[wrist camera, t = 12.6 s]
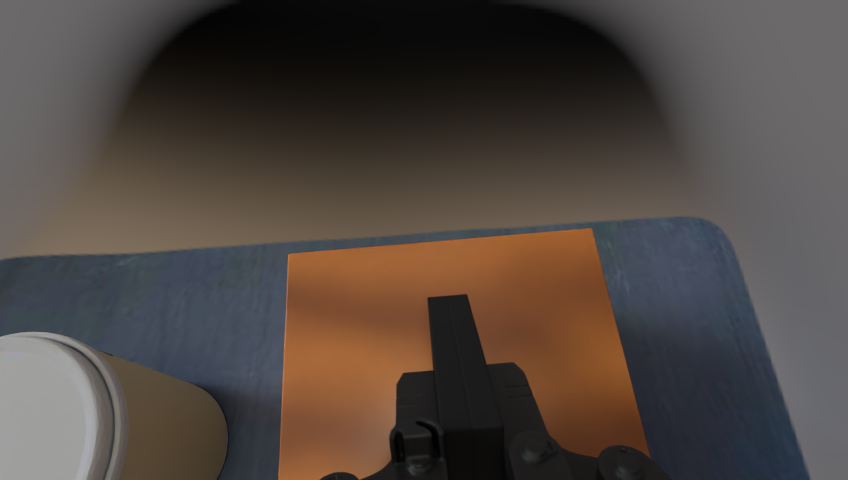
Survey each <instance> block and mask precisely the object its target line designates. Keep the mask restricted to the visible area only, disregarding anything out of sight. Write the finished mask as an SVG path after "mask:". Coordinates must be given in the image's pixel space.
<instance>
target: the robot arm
mask: <svg viewBox="0 0 848 480" xmlns="http://www.w3.org/2000/svg"><path fill="white" fill-rule="evenodd" d="M427 301H428V313H429V326H430V338H431V350H432V362H433V370H430V371H418V372H407V373H403V374H402V376H401V377H400V379H399V381H398V382H397V384H396V425H395V426H394V428H393V429H392V430H391V432H390V436H389V444H390V452H391V460H390V462H389V463H388V464H387V465H386V466H385V467H384V468H383V469H381V470H380V471H378V472H376V473H374V474H372V475H370V476H368V477H365V478H362V479H360V480H671V479H670V478H669V477H668V476H667V475H666V474H665V473H664V472H663V471H662V470H661V469H660V468H659V466H658V465H657V464H656V463H655V462H654V461H653V460H652V459H651V458H649V457H648V456H647V455H646V454H644V453H643V452H641V451H639V450H637V449H635V448H633V447H629V446H623V445H615V446H609V447H607V448H606V449H604V450H602V451H601V453H600V455H599V457H598V458H597V457H592V456H586V455H581V454H577V453H573V452H570V451H568V450H566V449H564V448H562V447H561V446H560V445H559V444H558V442H557V441H556V440H555V439H553V438H552V437H551V436H550V435H549V433H548V431H547V428H546V426H545V423H544V421H543V418H542V416H541V413H540V411H539V408H538V406H537V403H536V400H535V398H534V396H533V393H532V390H531V388H530V386H529V383H528V380H527V378H526V375H525V373H524V371H523V370H522V369H521V368H520V367H518V366H517V365H516V364H515V363H514V362H508V363H497V364H486V360H485V356H484V353H483V349H482V346H481V342H480V338H479V335H478V331H477V328H476V324H475V321H474V317H473V313H472V310H471V306H470V303H469V299H468V295H467V294H460V295H448V296H437V297H427ZM320 480H359V479H358V478H357V477H356V476H355V475H353V474H350V473H347V472H334V473H331V474H329V475H326V476H324V477H322V478H321V479H320Z"/></svg>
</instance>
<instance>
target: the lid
mask: <svg viewBox="0 0 848 480" xmlns="http://www.w3.org/2000/svg"><path fill="white" fill-rule="evenodd" d="M460 294H467V295H468V299H469V303H470V306H471V310H472V313H473V317H474V321H475V324H476V328H477V331H478V335H479V338H480V342H481V346H482V349H483V353H484V356H485V360H486V364H497V363H508V362H514V363H515V364H516V365H517V366H518V367H520V368H521V369H522V370H523V371H524V373H525V375H526V378H527V380H528V383H529V386H530V388H531V390H532V393H533V396H534V398H535V400H536V403H537V406H538V408H539V411H540V413H541V416H542V418H543V421H544V423H545V426H546V428H547V431H548V433H549V435H550V436H551V437H552V438H553V439H555V440H556V441H557V442H558V444H559V445H560V446H561V447H562V448H564V449H566V450H568V451H570V452H573V453H577V454H581V455H586V456H592V457H597V458H598V457H599V455H600V453H601V451H602V450H604V449H606V448H607V447H609V446H615V445H623V446H629V447H633V448H635V449H637V450H639V451H641V452H643V453H644V454H646V455H647V456H648V457H649V458H651V457H650V453H649V449H648V445H647V441H646V438H645V434H644V430H643V426H642V422H641V418H640V414H639V410H638V406H637V402H636V398H635V395H634V391H633V387H632V383H631V379H630V375H629V371H628V367H627V363H626V359H625V356H624V352H623V348H622V344H621V340H620V336H619V332H618V328H617V324H616V320H615V316H614V313H613V309H612V305H611V301H610V297H609V293H608V289H607V285H606V281H605V277H604V273H603V270H602V266H601V262H600V258H599V254H598V250H597V246H596V242H595V238H594V234H593V231H592V228H588V229H576V230H565V231H553V232H541V233H529V234H518V235H506V236H494V237H482V238H470V239H459V240H447V241H435V242H423V243H412V244H400V245H388V246H376V247H364V248H353V249H341V250H329V251H317V252H305V253H294V254H289V255H288V271H287V293H286V316H285V338H284V361H283V383H282V406H281V428H280V451H279V473H278V480H320V479H321V478H322V477H324V476H326V475H329V474H331V473H334V472H347V473H350V474H353V475H355V476H356V477H357V478H358V479H359V480H360V479H362V478H365V477H368V476H370V475H372V474H374V473H376V472H378V471H380V470H381V469H383V468H384V467H385V466H386V465H387V464H388V463H389V462H390V460H391V452H390V444H389V436H390V432H391V430H392V429H393V428H394V426H395V425H396V384H397V382H398V381H399V379H400V377H401V376H402V374H403V373H407V372H418V371H430V370H433V362H432V350H431V338H430V326H429V313H428V301H427V297H437V296H448V295H460Z"/></svg>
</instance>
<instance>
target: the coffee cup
mask: <svg viewBox="0 0 848 480" xmlns="http://www.w3.org/2000/svg"><path fill="white" fill-rule="evenodd" d="M227 445H228V431H227V425H226V420H225V417H224V414H223V412H222V410H221V408H220V407H219V405H218V403H217V402H216V401H215V399H214V398H213V397H212V396H211V395H210V394H209V393H208V392H206V391H205V390H203V389H202V388H200V387H198V386H195V385H193V384H191V383H189V382H186V381H183V380H181V379H178V378H175V377H172V376H169V375H167V374H164V373H161V372H158V371H156V370H153V369H150V368H147V367H145V366H142V365H139V364H136V363H133V362H130V361H128V360H125V359H122V358H119V357H116V356H113V355H110V354H108V353H105V352H102V351H98V350H95V349H93V348H91V347H89V346H88V345H86V344H84V343H82V342H80V341H77V340H75V339H73V338H70V337H67V336H63V335H59V334H53V333H45V332H25V333H16V334H10V335H6V336H2V337H0V480H217V478H218V476H219V474H220V472H221V470H222V467H223V464H224V461H225V458H226V453H227Z"/></svg>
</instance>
